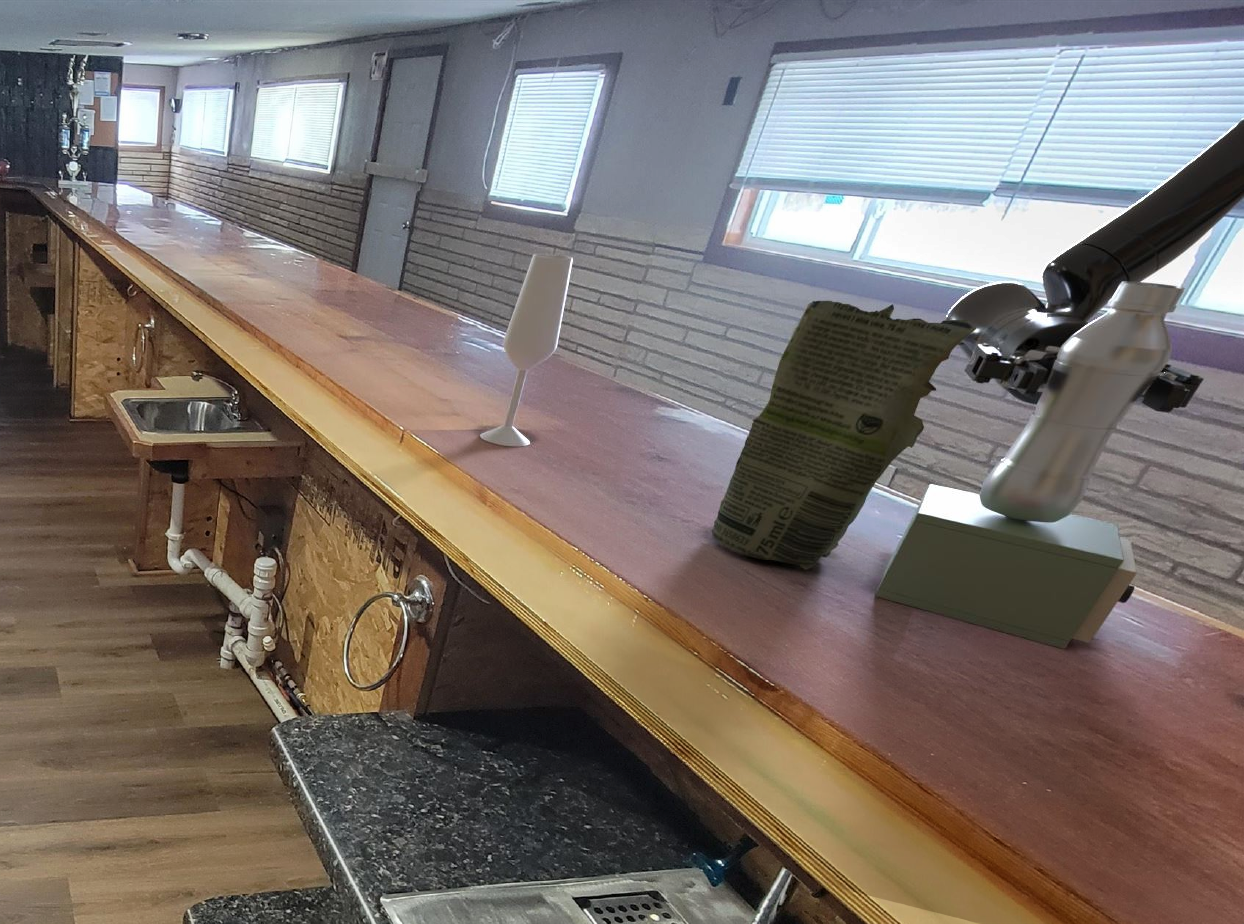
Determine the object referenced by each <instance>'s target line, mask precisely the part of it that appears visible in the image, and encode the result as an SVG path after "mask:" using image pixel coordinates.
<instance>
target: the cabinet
mask: <svg viewBox="0 0 1244 924" xmlns="http://www.w3.org/2000/svg"><path fill="white" fill-rule="evenodd" d="M979 494H980V493H979ZM979 494H978V493H975V492H971V491H965V490H961V489H955V488H951V487H946V486H942V485H938V484H937V485H936V484H932V483H929V485H928V487H927V489H926V491H925V493H924V494H923V496H922V498H921V500H920V502H919V504H918V506H917V508H916V509H915V511H914V513H913V515H912V517H911V519H910V521H909V523H908V524H907V527H906V528H905V531H904V533H903V534H902V537H901V538H900V540H899V542H898V544H897V546H896V548H895V549H894V552H893V554H892V555H891V557H890V559H889V561H888V563H887V566H886V568H885V570H884V572H883V575H882V578H881V580H880V582H879V585H878V587H877V589H876V591H875V594H874V596H875V597H877V598H880V599H884V600H887V601H891V602H895V603H898V604H901V605H906V606H909V607H913V608H915V609H919V610H923V611H927V612H930V613H934V614H938V615H942V616H944V617H948V618H952V619H956V620H958V621H962V622H965V623H970V624H974V625H977V626H980V627H984V628H987V629H991V630H994V631H998V632H1001V633H1005V634H1009V635H1013V636H1016V637H1019V638H1023V639H1027V640H1030V641H1034V642H1037V643H1041V644H1045V645H1048V646H1051V647H1056V648H1059V649H1063V650H1065V649H1066V648H1067V647H1068V645H1069V644H1070V642H1071V641H1072V638H1073V636H1074V635H1075V633H1076V632H1077V630H1078V629H1079V627H1080V626H1081V624H1082V623H1083V621H1084V620H1085V618H1086V617H1087V615H1088V614H1089V612H1090V611H1091V609H1092V608H1093V606H1094V605H1095V603H1096V602H1097V600H1098V599H1099V597H1100V596H1101V594H1102V593H1103V591H1104V590H1105V588H1106V587H1107V585H1108V584H1109V582H1110V581H1111V579H1112V578H1113V576H1114V575H1115V573H1116V572H1117V570H1118V568H1119V567H1120V566H1121V564H1122V563H1123V561H1124V559H1123V553H1122V547H1121V542H1120V537H1121V536H1120V530H1119V525H1118V523H1114V522H1110V521H1106V520H1100V519H1096V518H1093V517H1086V516H1082V515H1077V514H1073V513H1070V514H1069V515H1068V516H1066V517H1064V518H1062V519H1060V520H1058V521H1056V522H1047V523H1046V522H1034V521H1025V520H1016V519H1012V518H1009V517H1007V516H1004V515H1001V514H999V513H996V512H993V511H991V510H989V509H987V508H985V507H983V506H982V504H981V500H980V496H979Z"/></svg>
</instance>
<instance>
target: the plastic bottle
mask: <svg viewBox="0 0 1244 924" xmlns="http://www.w3.org/2000/svg"><path fill="white" fill-rule="evenodd" d="M1184 292H1185V287H1184V286H1178V285H1171V284H1165V283H1157V282H1156V283H1155V282H1144V281H1141V282H1129V281H1124V282H1122V283H1121V284H1120V285H1119V287H1118V289H1117V291H1116V293H1115V294H1114V296H1113V298H1112V299H1110V300H1109V302H1108V304H1106V305H1107V306H1109V307H1110V308H1109V310H1108V311H1107V312H1106V313H1104V314H1103V315H1101V316H1099V317H1098V318H1097V319H1095V320H1093V321H1091V322H1088V323H1089V324H1088V325H1086V326H1085V327H1083V328H1082V329H1080V330H1079V331H1077V332H1076V333H1075V334H1073V335H1072V336H1071V337H1070V338H1069V339H1068V340H1067V341H1066V342H1065V343H1064V344H1063V345H1062V346H1061V348H1060V351H1059V353H1058V355H1057V359H1056V360H1055V362H1054V365H1053V368H1052V370H1051V373H1050V376H1049V378H1048V381H1047V384H1046V386H1045V389H1044V391H1043V393H1042V395H1041V397H1040V399H1039V401H1038V403H1037V405H1035V410H1034V411H1033V412H1032V413H1031V415H1030V417H1029V419H1028V421H1027V423H1026V424H1025V426H1024V427H1023V429H1022V430H1021V432H1020V433H1019V435H1017V438H1016V439H1015V441H1014V442H1013V443H1012V445H1011V446H1010V448H1009V449H1008V451H1007V452H1006V453H1005V454H1004V457H1003V458H1001V459H1000V460H999V461H998V463H996V465H995V466H993V468H992V469H991V471H990V472H989V473H988V475H987V476H986V477H985V478H984V480H983V481H982V485H981V488H980V490H979V496H980V500H981V504H982V506H983V507H985V508H987V509H989V510H991V511H993V512H996V513H999V514H1001V515H1004V516H1007V517H1009V518H1012V519H1016V520H1025V521H1034V522H1046V523H1047V522H1056V521H1058V520H1060V519H1062V518H1064V517H1066V516H1068V515H1069V514H1072V512H1074V510H1075V509H1076V508H1077V507H1078V506H1079V505H1080V503H1082V501H1083V498H1084V496H1085V494H1086V492H1087V489H1088V487H1089V484H1090V481H1091V474H1092V473H1093V471H1094V469H1095V466H1097V463H1098V461H1099V459H1100V458H1101V455H1102V454H1103V451H1104V449H1105V447H1106V445H1107V443H1108V441H1109V439H1110V438H1111V436H1112V435H1113V433H1114V432H1115V431H1116V429H1117V428H1118V427H1117V426H1118V424H1119V423H1121V422H1122V421H1123V419H1124V418H1125V416H1126V415H1127V413H1129V411H1130V409H1131V408H1132V406H1133V405H1134V404H1135V403H1136V402H1135V401H1136V400H1137V399H1138V398H1139V397H1140V396H1141V394H1142V393H1143V392H1144V391H1145V390H1146V388H1147V387H1148V386H1149V385H1150V384H1151V383H1152V381H1153V380H1154V379H1155V378H1156V377H1157V375H1158V373H1159V372H1161V371H1162V369H1163V368H1164V367H1165V365H1166V364H1169V363H1168V362H1169V361H1170V359H1171V355H1172V349H1173V346H1172V340H1171V335H1170V333H1169V330H1168V326H1167V324H1166V322H1165V319H1166V316H1167V314H1170V313H1174V312H1175V310H1176V309H1177V304H1178V302H1179V300H1180V298H1181V297H1182V295H1183V293H1184Z"/></svg>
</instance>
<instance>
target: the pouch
mask: <svg viewBox="0 0 1244 924" xmlns="http://www.w3.org/2000/svg"><path fill="white" fill-rule="evenodd" d="M894 310H895V306H894V303H892V304H891V305H889V306H887V307H885V308H883V309H881V310H877V309H876V310H875V311H866V310H863V309H861V308H859V307H858V306H854V305H851V304H850V303H843V302H840V301H833V300H812V302H809V303H808V304H807V306H806V309H805V310H804V312H803V314H802V316H801V318H800V320H799V322H798V324H797V326H796V327H795V328H794V330H793V333H792V336H791V338H790V340H789V342H788V344H787V346H786V347H785V349H784V352H783V353H782V356H781V357H780V360H779V361H778V366H777V369H776V372H775V375H774V379H773V382H772V386H771V391H770V394H769V395H770V396H769V400H768V402H767V404H766V405H765V407H764V408H763V410H762V412H760V414H759V415H758V416H757V417H756V418H754V419H752V422H751V428H750V430H749V432H748V435H747V437H746V438H745V441H744V445H743V447H742V450H741V452H740V455H739V457H738V459H737V461H736V463H735V467H734V471H733V473H732V476H731V478H730V480H729V483H728V486H727V489H726V491H725V494H724V497H723V498H722V500H721V501H720V504H719V505H720V506H719V509H718V512H717V516H716V518H715V520H714V522H713V527H712V529H711V530H710V531H711V534H712V539H714V540H715V541H716V542H718V543H720V544H721V545H722V546H723V547H724V548H726V549H727V550H729V551H730V552H734V553H737V554H741V555H743V556H746V557H751V558H754V559H757V560H765V561H766V560H767V561H768V560H769V561H777V562H781V563H786V564H791V565H797V566H798V567H800V568H801V569H803V570H805V571H807V570H810V568H812V567H813V566H814V565H816V564H817V563H818V562H819V561H820V560H821V558H828V557H829V556H830V555H831V551H833V550H835V549H836V548H838V546H839V542H840V541H841V540H842V538H843V537H844V536H845V534H846V533H847V531H848V528H849V527H850V525H851V524H853V522H854V521H855V520H856V518H857V517H858V515H859V514H860V512H861V510H862V509H863V507H864V505H865V503H866V501H867V497H868V496H869V494H870V492H871V491H872V489H873V488H874V485H875V484H876V483H877V481H878V480H879V479H880V478H881V477H882V476H883V474H884V472H885V471H887V469H888V467H889V466H890V465H891V463H892V462H893V461H894V460H895V459H896V458H897V457H898V456H899V455H900V454H901V453H903V451H905V450H906V449H907V448H908V447H909V448H911V449H912V448H913V447H914V446H915V444H916V443H917V439H918V437H919V436H920V435H921V434H922V432H923V431H924V429H925V425H924V422H923V419H921V418H920V417H918V416H917V415H915V414H916V412H917V409H918V406H919V404H920V401H921V399H922V398H926V397H927V396H929V395H930V393H932V392H937V388H936V386H935V385H933V384H932V383H931V382H930V381H931V379H932V377H933V375H934V374H935V372H936V370H937V368H938V367H939V366H940V365H941V364H942V362H944V361H947V360H949V359H950V355H951V353H952V351H953V350H954V349H955V348H956V347H957V346H958V345H957V344H958V343H959V342H961V341H962V340H963V339H965V338H966V337H967V336H968V335H970V334H971V333H972V332H974V331H975V330H976V326H973V325H971V324H969V323H968V319H965V320H961V319H960V320H949V321H946V319H944V320H942V321H941V322H928V321H926V320H924V319H922V318H917V317H916V318H908V319H903V318H895V319H894V318H892V317H891V316H892V314H893V312H894Z"/></svg>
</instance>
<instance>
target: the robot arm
mask: <svg viewBox="0 0 1244 924" xmlns="http://www.w3.org/2000/svg"><path fill="white" fill-rule="evenodd" d="M1243 200H1244V118H1242V119H1241V120H1240V121H1239V122H1238V123H1236V124H1235V125H1234V126H1232V127H1231V128H1230V129H1229V130H1228V131H1227V132H1226V133H1224V134H1223V135H1222V136H1220V137H1219V138H1218V139H1216V141H1215V142H1213V143H1212V144H1211V145H1209V146H1208V147H1207V148H1206V149H1205V150H1203V151H1202V152H1201V153H1200V154H1198V155H1197V156H1196V157H1195V158H1194V159H1192V160H1191V161H1190V162H1188V163H1187V164H1186V165H1184V166H1183V167H1182V168H1181V169H1179V170H1178V171H1176V173H1174V174H1173V175H1172V176H1170V177H1169V178H1168V179H1166V180H1165V181H1163V183H1161V184H1160V185H1158V186H1157V187H1156V188H1154V189H1153V190H1152V191H1150V192H1149V193H1148V194H1147V195H1145V196H1144V197H1142V198H1141V199H1139V200H1138V201H1136V203H1134V204H1132V205H1131V206H1129V207H1128V208H1126V209H1125V210H1124V211H1122V212H1121V213H1119V214H1118V215H1116V216H1114V217H1113V218H1111V219H1110V220H1108V221H1107V222H1105V223H1103V225H1101V226H1099V227H1098V228H1096V229H1095V230H1093V231H1091V232H1090V233H1088V235H1086V236H1084V237H1083V238H1081V239H1080V240H1078V241H1077V242H1076V243H1073V244H1072V245H1071V246H1069V247H1068V248H1066V249H1065V250H1063V251H1062V252H1060V253H1059V254H1057V255H1056V256H1054V257H1053V258H1052V259H1051V260H1049V261H1048V263H1046V264H1045V266H1044V267H1043V269H1042V272H1041V282H1042V286H1043V289H1044V292H1045V297H1046V305H1045V304H1044V303H1043V302H1042V300H1041V299H1039V297H1037V295H1036V294H1035V293H1034V292H1032V290H1030V288H1028V287H1027V286H1026V285H1024V284H1023V283H1020V282H1017V281H997V282H993V283H989V284H986V285H983V286H980V287H978V288H976V289H973V290H972V291H970V292H968V293H967V294H965V295H964V296H962V297H961V298H960V299H959V300H958V301H957V302H956V303H955V304H954V305H953V306H952V307H951V309H949V311H948V312H947V315H946V317H945V321H949V320H960V319H961V320H965V319H968V323H969V324H971V325H973V326H976V330H975V331H974V332H972V333H971V334H970V335H968V336H967V337H966V338H965V339H963V340H962V341H961V342H959V343H958V344H957V345H956V346H957V347H958V348H959V349H960V351H961V352H962V353H963V354H964V355H965V357H966V358H967V359H968V363H967V364H966V366H965V368H964V370H963V371H964V373H965V374H966V375H967V376H968V377H969V379H971V381H973V382H975V383H976V384H989V383H990V382H991V381H992V380H993V381H994V382H995V383H996V384H997V385H998V386H999V387H1000V388H1002V389H1003V390H1005V391H1006V392H1007V393H1008V394H1010V395H1011V396H1013V397H1014V398H1015V399H1017V400H1019V401H1021V402H1024V403H1025V404H1031V405H1035V406H1036V405H1037V403H1038V401H1039V399H1040V397H1041V395H1042V393H1043V391H1044V389H1045V386H1046V384H1047V381H1048V378H1049V376H1050V373H1051V370H1052V368H1053V365H1054V362H1055V360H1056V359H1057V355H1058V353H1059V351H1060V348H1061V346H1062V345H1063V344H1064V343H1065V342H1066V341H1067V340H1068V339H1069V338H1070V337H1071V336H1072V335H1073V334H1075V333H1076V332H1077V331H1079V330H1080V329H1082V328H1083V327H1085V326H1086V325H1088V324H1089V323H1090V322H1089V321H1090V320H1091V319H1092V318H1093V317H1094V316H1095V315H1096V314H1097V313H1098V312H1100V311H1101V310H1102V309H1103V308H1104V307H1106V305H1107V304H1108V302H1109V300H1110V299H1112V298H1113V296H1114V294H1115V293H1116V291H1117V289H1118V287H1119V285H1120V284H1121V283H1122V282H1124V281H1129V282H1144V280H1146V279H1147V278H1150V277H1151V276H1152V275H1153V274H1155V273H1156V272H1158V271H1160V270H1161V269H1163V268H1165V267H1166V266H1168V265H1169V264H1171V263H1172V262H1173V261H1175V260H1176V259H1177V258H1179V257H1180V256H1181V255H1183V254H1184V253H1185V252H1186V251H1188V250H1189V249H1190V248H1191V247H1193V246H1194V245H1195V244H1196V243H1197V242H1198V241H1199V240H1201V239H1202V238H1203V237H1204V236H1205V235H1206V234H1207V233H1209V231H1210V230H1211V229H1212V228H1214V227H1215V226H1216V225H1217V224H1218V223H1219V222H1220V221H1222V219H1223V218H1224V217H1225V216H1227V215H1228V214H1229V213H1230V212H1231V211H1232V210H1233V209H1234V208H1235V207H1236V206H1237V205H1239V204H1240V203H1241V202H1242V201H1243ZM1204 380H1205V378H1204V377H1202V376H1200V375H1198V374H1194V373H1191V372H1189V371H1187V370H1184V369H1181V368H1179V367H1177V366H1173V365H1172V364H1169V363H1167V364H1166V365H1165V367H1164V368H1163V369H1162V371H1161V372H1159V373H1158V375H1157V377H1156V378H1155V379H1154V380H1153V381H1152V383H1151V384H1150V385H1149V386H1148V387H1147V388H1146V390H1145V391H1144V392H1143V393H1142V394H1141V396H1140V397H1139V398H1138V399H1137V400H1136V401H1135V403H1140V404H1143V405H1144V406H1146V407H1148V408H1150V409H1151V410H1153V411H1155V412H1160V413H1170V412H1172V411H1173V410H1174V409H1180V408H1183V409H1184V408H1187V406H1188V405H1189V403H1190V401H1191V400H1192V398H1193V397H1194V395H1195V394H1196V392H1197V391H1198V389H1199V387H1200V386H1201V384H1202V383H1203V381H1204Z"/></svg>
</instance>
